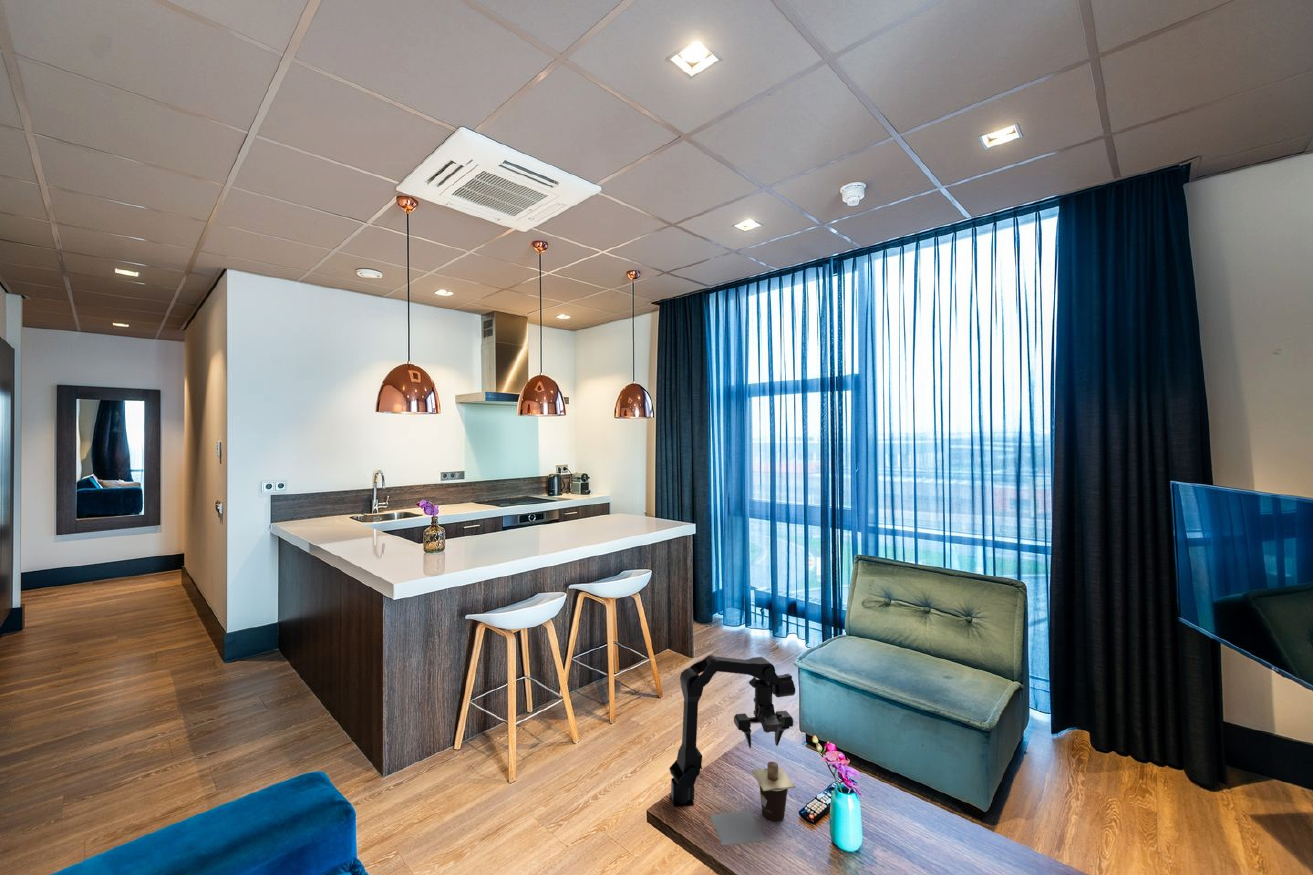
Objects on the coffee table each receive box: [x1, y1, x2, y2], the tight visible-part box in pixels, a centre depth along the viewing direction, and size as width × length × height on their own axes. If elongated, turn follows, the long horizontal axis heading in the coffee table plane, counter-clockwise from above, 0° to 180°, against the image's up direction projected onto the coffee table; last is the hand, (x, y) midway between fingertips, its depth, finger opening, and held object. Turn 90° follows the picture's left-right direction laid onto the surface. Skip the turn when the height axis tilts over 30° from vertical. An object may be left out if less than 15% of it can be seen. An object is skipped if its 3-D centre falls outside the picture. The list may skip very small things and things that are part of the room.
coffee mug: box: [758, 784, 788, 823], centre depth 168 cm, size 12×9×10 cm
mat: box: [709, 810, 767, 847], centre depth 160 cm, size 13×13×1 cm
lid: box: [750, 761, 796, 791], centre depth 168 cm, size 10×10×4 cm
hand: (763, 746), depth 181 cm, fingers open, 9 cm apart
